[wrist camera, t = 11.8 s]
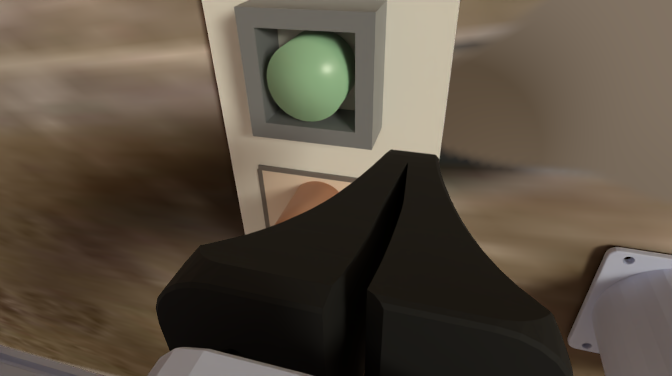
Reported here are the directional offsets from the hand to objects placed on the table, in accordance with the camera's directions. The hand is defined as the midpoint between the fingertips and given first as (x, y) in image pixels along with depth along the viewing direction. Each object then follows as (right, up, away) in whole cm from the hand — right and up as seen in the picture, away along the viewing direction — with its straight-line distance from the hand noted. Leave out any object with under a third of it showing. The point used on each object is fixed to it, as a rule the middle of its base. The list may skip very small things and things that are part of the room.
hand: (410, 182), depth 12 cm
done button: (-3, +6, +8) cm, 10 cm away
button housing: (-3, +6, +9) cm, 11 cm away
